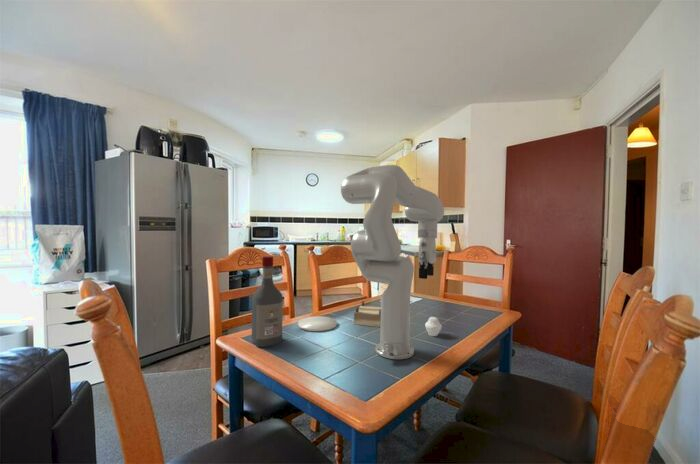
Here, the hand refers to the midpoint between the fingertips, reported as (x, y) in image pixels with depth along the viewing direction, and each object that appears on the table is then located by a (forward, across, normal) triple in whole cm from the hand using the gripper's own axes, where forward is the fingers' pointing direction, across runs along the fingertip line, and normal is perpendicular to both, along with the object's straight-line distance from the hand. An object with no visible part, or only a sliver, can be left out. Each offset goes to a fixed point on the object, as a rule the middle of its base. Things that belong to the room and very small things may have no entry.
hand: (426, 276), depth 121 cm
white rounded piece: (+21, -5, -4) cm, 22 cm away
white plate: (+22, -19, +39) cm, 49 cm away
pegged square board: (+21, -3, +23) cm, 31 cm away
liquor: (+22, -43, +44) cm, 66 cm away
